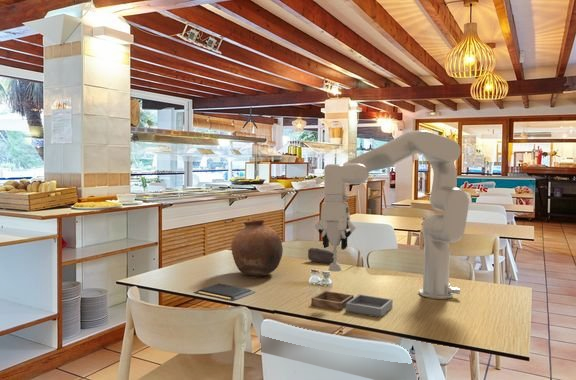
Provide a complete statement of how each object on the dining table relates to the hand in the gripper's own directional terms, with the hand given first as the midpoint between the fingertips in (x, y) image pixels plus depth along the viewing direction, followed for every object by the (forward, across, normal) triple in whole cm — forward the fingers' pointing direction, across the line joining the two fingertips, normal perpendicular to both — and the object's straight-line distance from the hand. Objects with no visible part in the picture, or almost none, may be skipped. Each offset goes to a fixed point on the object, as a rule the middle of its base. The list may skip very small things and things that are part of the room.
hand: (334, 247), depth 174 cm
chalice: (+8, 0, 0) cm, 8 cm away
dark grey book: (+21, +43, +10) cm, 48 cm away
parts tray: (+21, -13, +1) cm, 25 cm away
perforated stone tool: (+21, +33, -59) cm, 71 cm away
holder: (+21, +1, +1) cm, 21 cm away
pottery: (+20, +48, -21) cm, 56 cm away
